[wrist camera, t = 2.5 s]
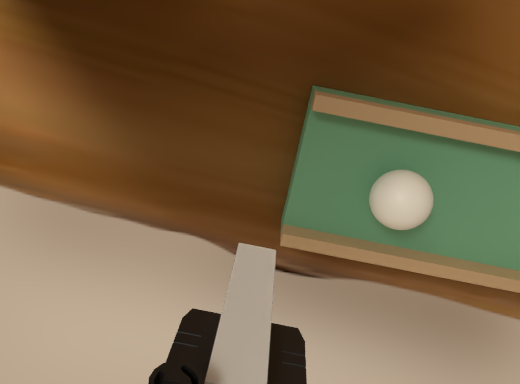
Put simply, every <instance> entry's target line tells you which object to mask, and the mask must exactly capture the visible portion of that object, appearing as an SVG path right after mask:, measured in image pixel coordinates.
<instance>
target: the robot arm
mask: <svg viewBox="0 0 520 384" xmlns="http://www.w3.org/2000/svg"><path fill="white" fill-rule="evenodd" d="M275 260H276V250H274V249H269V248H264V247H259V246H254V245H249V244H244V243H239V244H238V248H237V252H236V256H235V260H234V265H233V269H232V273H231V277H230V281H229V285H228V289H227V293H226V297H225V301H224V305H223V310H222V314H218V313H213V312H208V311H203V310H198V309H192V310H190V311H189V312H188V313H187V314H186V315H185V316H184V317H183V318H182V321H181V324H180V326H179V329H178V332H177V334H176V337H175V339H174V343H173V345H172V348H171V350H170V353H169V355H168V358H167V361H166V363H163V364H161V365H160V366H159V367H157V368H156V369H154V371H153V372H152V374H151V375H150V377H149V384H307V383H306V368H305V367H306V360H305V341H304V339H303V337H302V335H301V333H300V331H299V329H298V328H294V327H289V326H284V325H279V324H273V323H271V317H272V303H273V288H274V274H275Z"/></svg>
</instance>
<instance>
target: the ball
mask: <svg viewBox="0 0 520 384" xmlns="http://www.w3.org/2000/svg"><path fill="white" fill-rule="evenodd" d="M433 202H434V197H433V192H432V189H431V187H430V185H429V184H428V182H427V181H426V180H425V179H424V178H423V177H422V176H421V175H419V174H417V173H415V172H413V171H410V170H403V169H399V170H393V171H389V172H387V173H385V174H383V175H382V176H380V177H379V178H378V179H377V180H376V181H375V183H374V184H373V186H372V188H371V191H370V195H369V204H370V208H371V211H372V213H373V215H374V216H375V218H376V219H377V220H378V221H379V222H380V223H381V224H383V225H384V226H386V227H388V228H391V229H395V230H408V229H412V228H415V227H417V226H419V225H420V224H422V223H423V222H424V221H425V220H426V219H427V218H428V216H429V215H430V213H431V211H432V208H433Z"/></svg>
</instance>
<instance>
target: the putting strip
mask: <svg viewBox="0 0 520 384" xmlns="http://www.w3.org/2000/svg"><path fill="white" fill-rule="evenodd" d="M399 169H403V170H410V171H413V172H415V173H417V174H419V175H421V176H422V177H423V178H424V179H425V180H426V181H427V182H428V184H429V185H430V187H431V189H432V192H433V197H434V202H433V208H432V211H431V213H430V215H429V216H428V218H427V219H426V220H425V221H424V222H423V223H422V224H420V225H419V226H417V227H415V228H412V229H408V230H395V229H391V228H388V227H386V226H384V225H383V224H381V223H380V222H379V221H378V220H377V219H376V218H375V216H374V215H373V213H372V211H371V208H370V204H369V195H370V191H371V188H372V186H373V184H374V183H375V181H376V180H377V179H378V178H379V177H380V176H382V175H383V174H385V173H387V172H389V171H393V170H399ZM280 246H285V247H290V248H295V249H300V250H305V251H310V252H315V253H320V254H325V255H330V256H335V257H340V258H345V259H350V260H355V261H360V262H366V263H371V264H376V265H381V266H386V267H391V268H396V269H401V270H406V271H411V272H416V273H421V274H426V275H431V276H436V277H441V278H446V279H451V280H457V281H462V282H467V283H472V284H477V285H482V286H487V287H492V288H497V289H502V290H507V291H512V292H517V293H520V126H515V125H510V124H505V123H500V122H495V121H490V120H485V119H480V118H475V117H470V116H465V115H460V114H455V113H450V112H445V111H440V110H435V109H430V108H425V107H420V106H415V105H410V104H405V103H400V102H395V101H390V100H385V99H380V98H375V97H370V96H365V95H360V94H355V93H350V92H345V91H340V90H335V89H330V88H325V87H320V86H315V85H313V86H312V90H311V94H310V99H309V103H308V107H307V111H306V116H305V120H304V124H303V129H302V133H301V137H300V142H299V146H298V150H297V154H296V159H295V163H294V167H293V172H292V176H291V180H290V185H289V189H288V193H287V197H286V202H285V206H284V210H283V215H282V219H281V234H280Z"/></svg>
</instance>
